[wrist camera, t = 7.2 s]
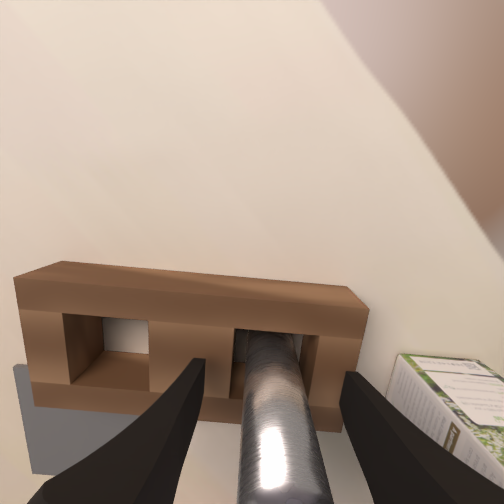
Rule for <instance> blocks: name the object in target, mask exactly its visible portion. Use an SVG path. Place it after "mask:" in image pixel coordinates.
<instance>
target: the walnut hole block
mask: <svg viewBox="0 0 504 504" xmlns="http://www.w3.org/2000/svg"><path fill="white" fill-rule="evenodd" d="M13 279H14V285H15V291H16V297H17V303H18V309H19V315H20V321H21V327H22V333H23V339H24V345H25V352H26V358H27V364H28V370H29V376H30V382H31V388H32V394H33V400H34V406H35V407H47V408H59V409H70V410H82V411H94V412H105V413H117V414H129V415H141V414H143V413H144V412H145V411H146V410H147V409H148V408H149V407H150V406H151V405H152V404H153V403H154V402H155V401H156V400H157V399H158V398H159V397H160V396H161V395H162V394H163V393H164V392H165V391H166V390H167V389H168V388H169V386H170V385H171V384H172V383H173V382H174V381H175V380H176V379H177V377H178V376H179V375H180V374H181V373H182V371H183V370H184V369H185V368H186V366H187V365H188V364H189V362H190V361H191V360H192V359H193V358H203V359H206V364H205V384H204V395H203V400H202V404H201V409H200V413H199V417H198V421H210V422H222V423H233V424H242V410H243V393H244V377H245V363H241V362H234V350H235V338H236V328H238V329H249V330H261V331H272V332H283V333H294V334H303V340H302V346H301V353H300V359H299V368H300V372H301V376H302V380H303V384H304V388H305V392H306V395H307V399H308V403H309V407H310V411H311V415H312V419H313V423H314V427H315V431H326V432H338V433H341V431H342V427H343V422H344V421H343V418H342V414H341V410H340V407H339V400H340V396H341V391H342V386H343V382H344V377H345V373H346V371H352V372H355V370H356V366H357V362H358V357H359V353H360V349H361V344H362V340H363V336H364V331H365V327H366V323H367V318H368V314H369V310H370V309H369V308H368V307H367V306H366V305H365V304H364V303H363V302H362V301H361V300H360V299H359V298H358V297H357V296H356V295H355V294H354V293H353V292H352V291H351V290H350V289H349V288H348V287H347V286H335V285H324V284H313V283H302V282H291V281H280V280H269V279H257V278H246V277H235V276H224V275H213V274H202V273H191V272H179V271H168V270H157V269H146V268H135V267H124V266H113V265H101V264H90V263H79V262H68V261H60V262H57V263H54V264H51V265H48V266H45V267H42V268H39V269H36V270H34V271H31V272H28V273H25V274H22V275H19V276H16V277H13ZM101 316H102V317H113V318H125V319H136V320H147V321H148V333H149V354H139V353H127V352H116V351H104V346H103V332H102V318H101Z"/></svg>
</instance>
